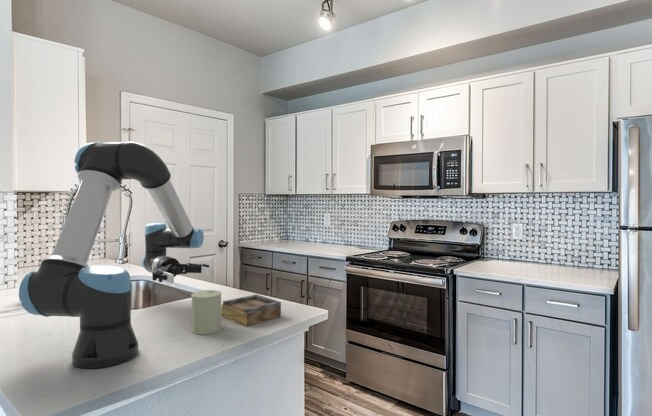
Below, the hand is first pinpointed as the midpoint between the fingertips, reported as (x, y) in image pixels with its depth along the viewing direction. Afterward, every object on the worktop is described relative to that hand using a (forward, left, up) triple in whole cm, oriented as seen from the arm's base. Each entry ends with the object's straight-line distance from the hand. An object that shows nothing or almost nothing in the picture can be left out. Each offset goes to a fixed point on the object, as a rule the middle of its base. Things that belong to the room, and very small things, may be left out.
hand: (192, 275), depth 130 cm
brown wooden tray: (+18, -8, -16) cm, 25 cm away
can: (0, -10, -16) cm, 19 cm away
